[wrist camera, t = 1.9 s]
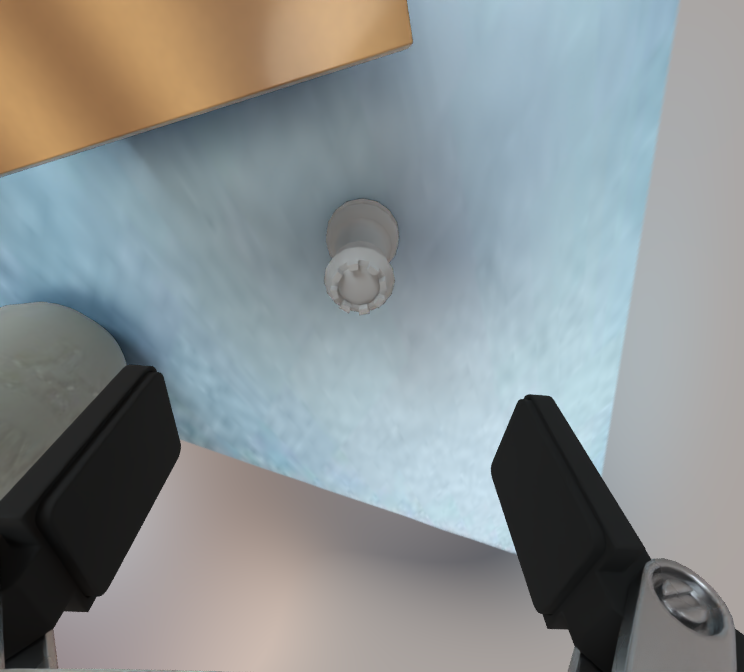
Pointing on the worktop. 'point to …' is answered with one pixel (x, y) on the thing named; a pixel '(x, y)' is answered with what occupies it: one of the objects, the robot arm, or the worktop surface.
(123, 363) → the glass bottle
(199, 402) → the worktop surface
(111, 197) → the worktop surface
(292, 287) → the worktop surface
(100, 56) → the board
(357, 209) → the rook chess piece
